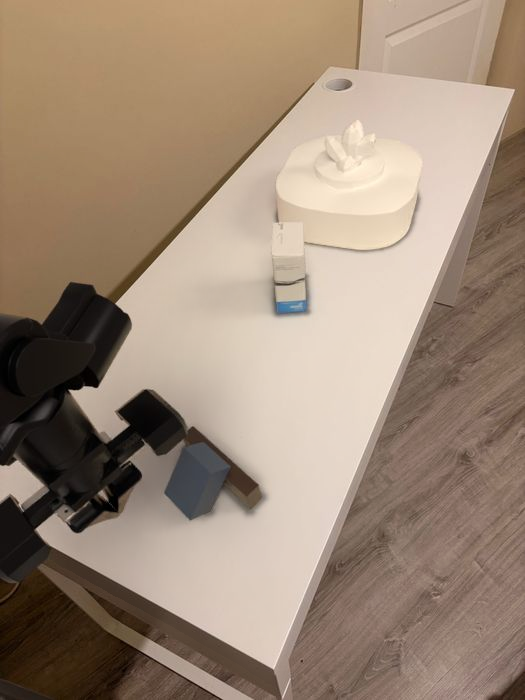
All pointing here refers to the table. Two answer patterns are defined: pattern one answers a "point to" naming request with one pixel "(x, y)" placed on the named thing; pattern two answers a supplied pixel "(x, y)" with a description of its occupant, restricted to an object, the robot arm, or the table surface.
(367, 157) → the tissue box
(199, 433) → the walnut rail
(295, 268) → the ink box
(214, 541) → the table surface
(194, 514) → the slate block
